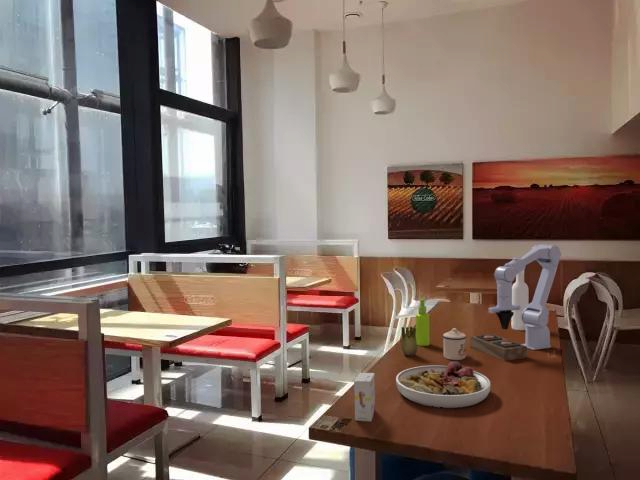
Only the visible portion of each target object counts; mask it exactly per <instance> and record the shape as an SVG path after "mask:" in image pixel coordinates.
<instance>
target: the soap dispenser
mask: <svg viewBox="0 0 640 480" xmlns="http://www.w3.org/2000/svg"><path fill="white" fill-rule="evenodd" d="M425 300H426V298H420V299H419V302H420V305H419V306H418V313H416V314H415V328H416V343H417V346H421V347H423V346H425V347H426V346H429V345H430V344H431V343H430V342H431V341H430V338H431V337H430V314H429V313H427V306H426V305H425Z"/></svg>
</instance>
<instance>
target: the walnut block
mask: <svg viewBox="0 0 640 480" xmlns="http://www.w3.org/2000/svg"><path fill="white" fill-rule="evenodd" d="M484 336H494V338H492V339H486V338H484ZM469 342H470V343H469V346H470V348H471V349H474V350H476V351H479V352H481V353H483V354H487V355H489V356H491V357H494V358H496V359H500V360H501V361H505V362H507V361H511V360H520V359H526V358H528V348H527V346H524V345H522V344H523V343H522V344H521V343H518V342H516V341H512V340H510V339H507V338H504V337H500V336H498V335H495V334H492V333H489V334H480V335H474V336H473V335H472V336H470V337H469ZM501 342H511V343H512V345H503V344H501Z"/></svg>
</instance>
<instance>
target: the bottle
mask: <svg viewBox="0 0 640 480" xmlns="http://www.w3.org/2000/svg"><path fill="white" fill-rule="evenodd" d="M529 291H530V290H529V286H528V284H527V283H526V282H525V269H524V270H523V271H521V272H520V273H518V274H517V275H516V276H515V282H514V283H512V305H520V306H521V310H512V311H511V312H514V315H513V316H512V318H511V320H510V322H511V329H512V330H515V331H526V326H525V325H524V323H523V321H522V319H521V315H522V312H523V311H524V310H525V307H526V305H528V304H529Z"/></svg>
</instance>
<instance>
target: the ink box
mask: <svg viewBox="0 0 640 480" xmlns="http://www.w3.org/2000/svg"><path fill="white" fill-rule="evenodd" d="M353 387H354V390H353V391H354V421H361V422H372V420H373V417H374V414H375V412H376V403H375V402H376V399H375V398H376V394H375V393H376V391H375V390H376V389H375V373H374V372H359V373H358V374H357V376H356V377H355V379H354V381H353Z"/></svg>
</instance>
